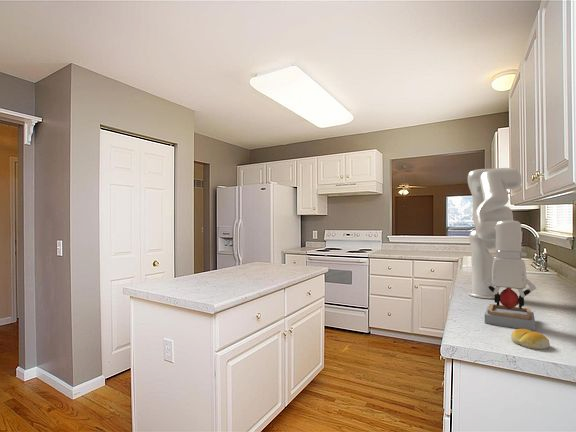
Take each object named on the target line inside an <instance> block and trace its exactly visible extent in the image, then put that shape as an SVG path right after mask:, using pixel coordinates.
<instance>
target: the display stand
mask: <svg viewBox="0 0 576 432" xmlns="http://www.w3.org/2000/svg"><path fill="white" fill-rule="evenodd" d="M484 324H488V325H493V326H494V325H495V326H500V327H508V328H515V329H528V330H530V331H532V332H536V321H535V313H534V311H532V309H531V308H529V307H524V306H522V309H520V308H519V306H515V307H513V308H512V309H507V308H506V307H505V306H503V305H502V304H499V306H497V303H490V304H489V305H487V307H486V309H485V312H484Z"/></svg>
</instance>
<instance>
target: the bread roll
mask: <svg viewBox="0 0 576 432" xmlns="http://www.w3.org/2000/svg"><path fill="white" fill-rule="evenodd" d="M510 338H511V342H512V343H515V344H516V345H520V346H522V347H525V348H527V349H532V350H546V349H549V348H550V343H551V342H550V340H549V339H548V338H547V337H546V336H545V335H544V334H543V333H541V332H537V331H532V330H528V329H519V328H516V329H514V330H513V331H512V332H511V334H510Z"/></svg>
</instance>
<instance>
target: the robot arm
mask: <svg viewBox="0 0 576 432" xmlns="http://www.w3.org/2000/svg"><path fill="white" fill-rule="evenodd" d="M522 180H523V179H522V175H521V172H520V171H519V170H518V169H516V168H512V167H497V168H496V167H495V168H480V169H474V170H470V171H469V172H468V174H467V185H468V188H469V191H470V194H471V197H472V221H473V224H474V228H475V229H473V230H471V231H470V232H469V235H468V240H469V244H470V245H469V246H470V254H471V290H469V291H468V293H467V294H468V295H469V296H471V297H474V298H481V299H489V300H490V299H491V300H493V299H494V304H497V306H499V305H501V303H500V301H499V295H500V293H499V292H500V289H501V288H505V289H506V288H511V289H516V290H517V291H518V293H519V295H518V297H519V303H518V307H519V308H520V309H522V307H525V297H526V296H528V295H529V294H531V292H533V291H534V290H536V289H537V287H536V285H535V284H533V282H532V281H530V279H528V278H527V267H526V263H525V262H526V261H525V259H522V258H526V257H528V255H527V252H523V251H522V224H521V222H520V221H518V220H514V214H513V210H512V209H511V207H509V206H507V204H508V203H509V195H508V190H516V189H519V188H520V187H521V184H522V182H523V181H522ZM489 250H495V257H494V256H493V254H492V253H491V252H490V251H489ZM527 286H528V288H527ZM526 288H527V289H526ZM524 289H525V290H524Z"/></svg>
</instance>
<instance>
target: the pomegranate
mask: <svg viewBox="0 0 576 432" xmlns="http://www.w3.org/2000/svg"><path fill="white" fill-rule="evenodd" d="M499 301H500V305H503V306H505V307H506V308H507V309H512V308H513V307H517V306H519V295H518V294H517V292H515V291H514V290H513V289H512V288H505V289H503V290H502V291H501V292H500V293H499Z"/></svg>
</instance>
